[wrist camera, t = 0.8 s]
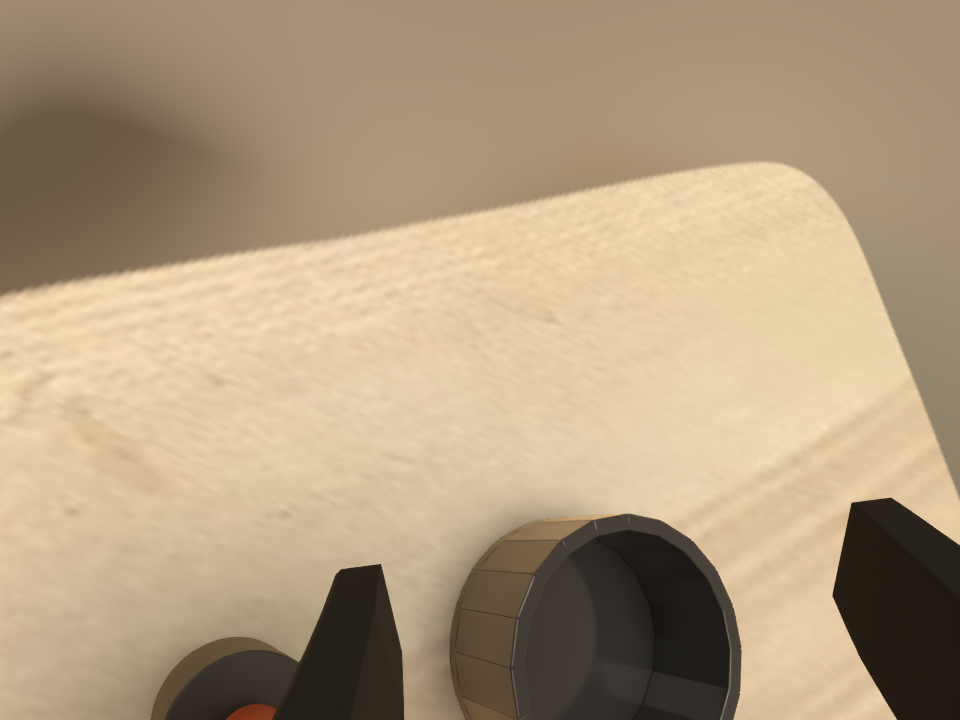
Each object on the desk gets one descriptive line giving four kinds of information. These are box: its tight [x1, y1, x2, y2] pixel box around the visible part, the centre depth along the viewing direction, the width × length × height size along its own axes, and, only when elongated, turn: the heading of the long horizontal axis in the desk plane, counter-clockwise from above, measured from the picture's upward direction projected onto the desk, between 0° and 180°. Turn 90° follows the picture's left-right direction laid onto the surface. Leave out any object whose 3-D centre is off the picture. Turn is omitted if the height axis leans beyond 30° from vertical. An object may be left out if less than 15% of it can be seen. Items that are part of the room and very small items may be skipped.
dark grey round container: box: [450, 514, 742, 720], centre depth 24 cm, size 8×8×4 cm
